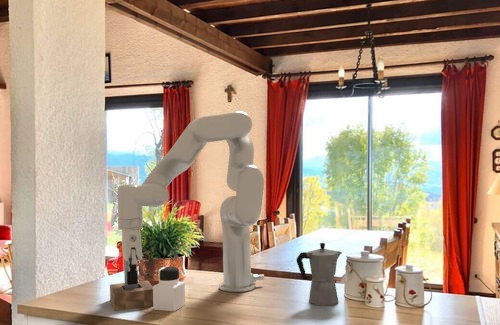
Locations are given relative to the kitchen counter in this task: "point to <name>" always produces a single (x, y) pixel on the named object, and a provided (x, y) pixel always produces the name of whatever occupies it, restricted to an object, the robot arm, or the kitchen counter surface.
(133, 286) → the peg
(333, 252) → the coffeepot
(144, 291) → the socket
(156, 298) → the medicine bottle
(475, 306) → the kitchen counter surface
